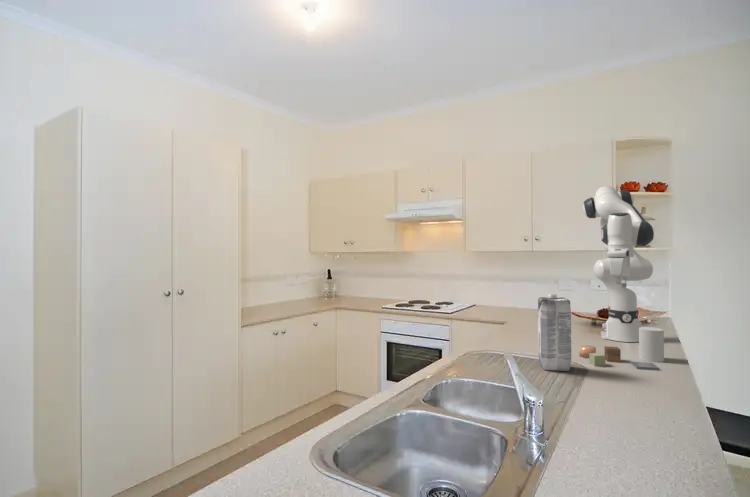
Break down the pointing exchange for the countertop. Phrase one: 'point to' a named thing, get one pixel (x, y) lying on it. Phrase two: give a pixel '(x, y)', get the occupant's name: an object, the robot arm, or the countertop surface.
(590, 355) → the olive block
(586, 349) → the peach glossy ball
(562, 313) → the juice carton
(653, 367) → the slate coaster
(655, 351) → the cup
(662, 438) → the countertop surface
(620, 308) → the robot arm
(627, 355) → the countertop surface
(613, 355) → the walnut block
